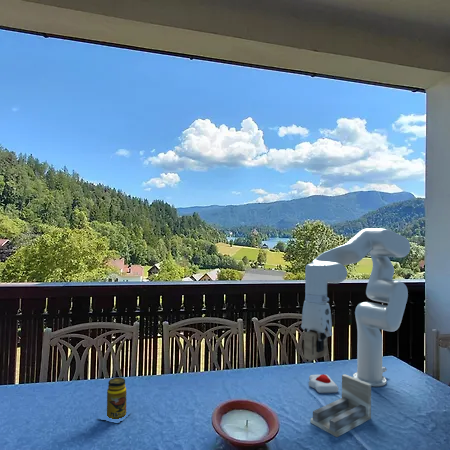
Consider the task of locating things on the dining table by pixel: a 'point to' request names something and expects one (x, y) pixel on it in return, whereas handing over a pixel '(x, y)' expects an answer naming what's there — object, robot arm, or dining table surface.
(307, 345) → the door
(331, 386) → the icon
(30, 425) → the dining table surface
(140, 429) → the dining table surface
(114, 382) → the condiment
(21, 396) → the dining table surface
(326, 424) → the track
